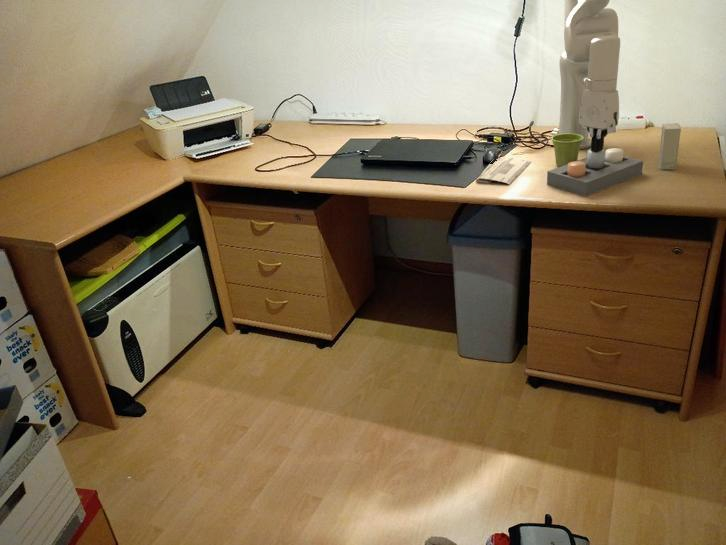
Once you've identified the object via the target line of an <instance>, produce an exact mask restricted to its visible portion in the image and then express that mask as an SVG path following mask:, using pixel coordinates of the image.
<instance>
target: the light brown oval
mask: <svg viewBox="0 0 726 545" xmlns="http://www.w3.org/2000/svg"><path fill="white" fill-rule="evenodd" d="M585 170H586V163H584V162H579V161H578V160H577V161H575V162H570V163H568V171H567V175H568V176H571V177H575V178H580V177H582V176H585Z"/></svg>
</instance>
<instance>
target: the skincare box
mask: <svg viewBox="0 0 726 545" xmlns="http://www.w3.org/2000/svg"><path fill="white" fill-rule="evenodd" d="M661 125H662V127H661V136H660V145H659V153H658V154H659V155H658V167H659V169H660V170H676V169H677V164H678V156H679V146H680V138H681V132H682V126H680V123H679V122H678V123H662V124H661Z"/></svg>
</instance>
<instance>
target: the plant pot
mask: <svg viewBox="0 0 726 545" xmlns="http://www.w3.org/2000/svg"><path fill="white" fill-rule="evenodd" d="M583 138H584V137H583V136H582V135H579V134H571V133H568V134H558V135H555V136H554V135H552V136H551V140H552V144H553V147H554V148H553V149H554V157H555V158H554V159H555V165H556V166H558V167H561V166H564V165H567V164H568V163H570V162H575V161H578V157H579V153H580V152H579V151H580V149H579V148H580V144H581V142H582V140H583Z"/></svg>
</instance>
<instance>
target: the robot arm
mask: <svg viewBox="0 0 726 545" xmlns="http://www.w3.org/2000/svg"><path fill="white" fill-rule="evenodd" d="M610 1H611V0H564V21H563V22H564V29H563V30H564V32H563V37H564V38H563V39H564V40H563V41H564V51H563V52H562V53H561V55H560V58H559V63H558V64H559V72H560V73H559V75H560V107H559V124H558V125H559V127H558V128H556V127H555V128H554V129H553V131H551V134H550V135H551V136H555V135H558V134H568V133H571V134H579V135H582V136H583V137H584V138H583V140H582V142H581V144H580V148H579V150H583V149H588V148H590V149H591V151H592V152H599V151H602V150H603V149H604V147H605V146H604V143H605V138H606V137H607V135H609V134H614V133H616V132H617V127H616V126H618V123H619V118H620V117H619V116H620V98H619V97H620V96H619V91H618V90H617V87H618V85H617V84H618V75H619V74H618V72H619V64H620V54H621V53H620V51H621V50H620V49H621V38H620V37H619V16H618V13H617V12H616V10H614V9H613V8H609V7H607V6H608V4H609V3H610ZM584 79H585V80H584ZM589 137H590V138H589Z"/></svg>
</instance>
